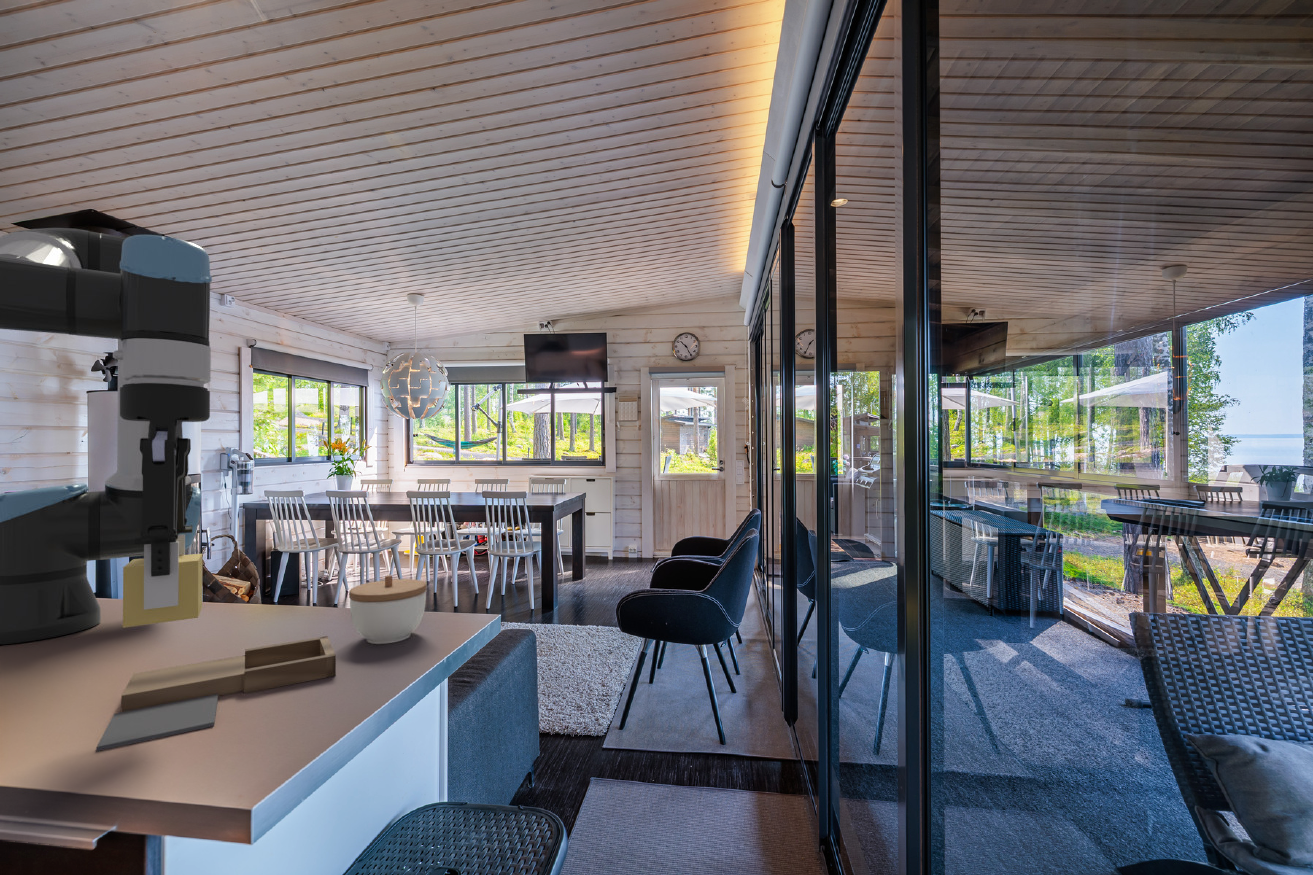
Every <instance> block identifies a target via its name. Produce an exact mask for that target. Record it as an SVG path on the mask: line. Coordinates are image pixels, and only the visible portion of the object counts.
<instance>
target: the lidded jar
mask: <svg viewBox="0 0 1313 875" xmlns="http://www.w3.org/2000/svg"><path fill="white" fill-rule="evenodd" d="M348 593H349V594H348V598H349V609H350V617H351V621H352V623H353V626H354V629H355V631H356V632H357V634H359V635H360V636H362V637H363V638H364V639H365V640H366V642H367V643H368V644H373V645H383V644H384V645H385V644H395V643H397V642H402V641H405V640H407V639H409V638H410V637H411V634H412V633H413V632H414V631H415V630H416V629H417V627H419V626H420V623H421V621H422V619H423V616H424V612H425V609H426V598H427V597H426V596H427V595H426V593H427V583H426V582H425V581H423V580H419V579H410V578H409V579H408V578H405V579H404V578H401V579H400V578H399V579H397V578H396V579H395V578H394V579H393V575H392V574H387V575H384V580H378V581H372V582H367V583H362V584H359V585H356V586H354V587H352V588H350V590H349V592H348Z"/></svg>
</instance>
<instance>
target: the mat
mask: <svg viewBox="0 0 1313 875" xmlns="http://www.w3.org/2000/svg"><path fill="white" fill-rule="evenodd" d="M218 700H219V696H218V694H213V695H208V696H203V697H198V698H193V699H187V700H182V701H177V702H172V703H166V704H161V705H156V706H151V707H145V708H140V709H135V710H130V711H124V712H121V711H120V712H115V713H113V715H112V717H111V719H110V721H109V723H108V725H107V727H106V728H105V730H104V732H103V734H102V736H101V738H100V740H99V742H98V743H97V745H96V748H95V749H96V750H95V751H96V752H100V751H103V750H109V749H112V748H113V749H114V748H117V747H118V748H119V747H122V746H127V745H132V744H136V743H140V742H141V743H142V742H145V741H150V740H156V739H160V738H164V737H170V736H174V735H178V734H183V733H188V732H193V731H197V730H201V729H206V728H211V727H214V726H215V723H216V715H217V708H218Z"/></svg>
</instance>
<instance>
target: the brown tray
mask: <svg viewBox="0 0 1313 875" xmlns="http://www.w3.org/2000/svg"><path fill="white" fill-rule="evenodd" d="M336 658H337V656H336V652H335V650H334V648H333V646H332V643H331V641H330V639H329V636H328V635H326V636H318V637H313V638H308V639H307V638H306V639H300V640H294V641H288V642H283V643H282V642H281V643H277V644H270V645H269V644H268V645H265V646H264V645H262V646H257V647H251V648H245V649H244V655H239V656H234V657H227V658H226V657H225V658H221V659H214V660H208V661H201V662H195V663H191V664H184V665H183V664H182V665H177V666H172V667H165V668H159V669H154V670H147V671H141V672H135V673H133V674H132V676H131V678H130V679H129V681H128V683H127V685H126V686H125V689H124V690H123V692H122V694H121V698H120V699H121V704H120V705H121V706H120V707H121V710H120V712H124V711H130V710H135V709H140V708H145V707H151V706H156V705H161V704H166V703H172V702H177V701H182V700H187V699H193V698H198V697H203V696H208V695H213V694H218V697H219V696H225V695H230V694H234V693H239V692H243V694H248V693H252V692H257V691H263V690H269V689H274V688H280V687H284V686H289V685H294V684H295V685H296V684H299V683H300V684H301V683H304V682H310V681H315V680H320V679H325V678H329V677H336V676H337V675H336V674H337V669H336V667H337V666H336V665H337V663H336V662H337V659H336Z"/></svg>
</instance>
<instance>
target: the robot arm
mask: <svg viewBox="0 0 1313 875" xmlns="http://www.w3.org/2000/svg"><path fill="white" fill-rule="evenodd" d="M210 265H211V264H210V256H209V254H208V252H207V250H205V249H204V248H202V247H201V246H199V245H197V244H195V243H193V242H190V241H186V240H183V239H180V238H175V237H169V236H163V235H156V234H134V235H131V236H128V237H125V236H122V235H121V236H119V235H113V234H107V233H102V232H101V233H99V232H96V231H95V232H94V231H90V230H86V229H79V228H67V227H65V228H64V227H47V228H45V227H44V228H31V229H22V230H17V231H16V230H15V231H13V232H9V233H6V234H4V235H1V236H0V330H11V331H21V332H22V331H24V332H37V333H46V334H47V333H48V334H49V333H50V334H63V335H69V336H70V335H71V336H78V337H90V338H98V339H99V338H100V339H110V340H111V339H112V340H113V339H114V340H117V349H116V350H114V351H113V352H112V358H114V360H117V425H116V426H117V429H116V430H117V434H116V435H117V437H116V439H117V440H116V441H117V444H116V446H117V450H116V451H117V452H116V453H117V455H116V457H117V458H116V459H117V460H116V463H117V464H116V467H117V468H116V471H115V472H114V473H113V474H112V475H111V476H109V477H108V478H107V479H106V480H105V481H104V490H97V491H95V490H94V491H89V489H90V487H89V486H88V485H87V483H85V482H83V483H74V484H64V485H55V486H48V487H47V486H46V487H42V488H41V487H40V488H34V489H27V490H18V491H17V490H16V491H10V492H4V493H0V644H1V645H10V644H19V643H26V642H33V641H38V640H45V639H50V638H56V637H60V636H65V635H68V634H73V633H76V632H80V631H83V630H87V629H89V628H93V627H94V626H97V625H98V624H100V623H101V621H102V619H101V618H102V617H101V616H102V615H101V613H102V612H101V607H100V604H99V602H98V600H97V598H96V595H95V593H94V590H93V589H92V586H91V584H90V582H89V580H88V571H87V570H88V568H87V566H88V562H89V561H100V560H111V559H120V558H132V557H143V559H144V610H145V609H153V608H162V607H170V606H178V604H179V555H186V550H187V549H189V548H190V547H191V546H192V545H193V543H194V540H195V537H196V536H197V535H196V534H197V530H198V528H199V527H198V526H199V522H200V516H201V503H202V491H201V489H200V488H199V487H196V486H195V485H194V486H192V478H191V477H190V476H189V475H188V473H189V455H190V452H191V449H192V448H191V447H192V446H191V444H192V443H191V442H192V441H191V438H189V437H185V438H184V437H183V423H202V422H206V421H208V420H209V419H210V417H211V416H210V415H211V392H210V390H208V388H206V387H205V385H207V384H209V383H211V370H212V369H211V367H212V366H211V365H212V364H211V362H212V361H211V356H212V355H211V350H212V349H211V347H210V346H211V345H210V323H211V322H210V320H211V319H210V318H211V317H210V315H211V282H212V281H213V276H211V266H210Z"/></svg>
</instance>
